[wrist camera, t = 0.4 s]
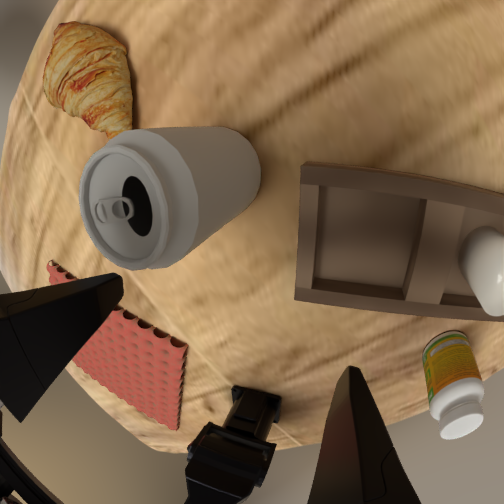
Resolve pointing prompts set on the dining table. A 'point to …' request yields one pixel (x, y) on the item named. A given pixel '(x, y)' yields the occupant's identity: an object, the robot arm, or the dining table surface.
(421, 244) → the caddy
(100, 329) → the red studded mat
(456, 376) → the supplement bottle
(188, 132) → the can
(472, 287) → the white rounded cylinder
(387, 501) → the robot arm
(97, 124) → the croissant
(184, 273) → the dining table surface
